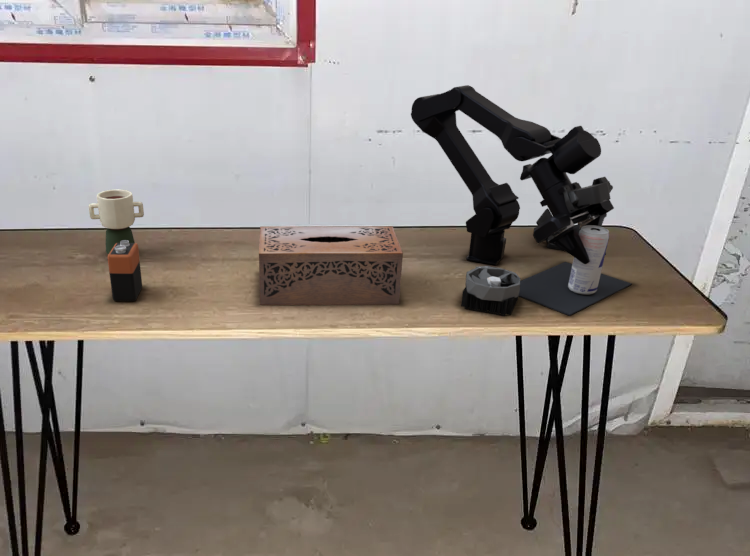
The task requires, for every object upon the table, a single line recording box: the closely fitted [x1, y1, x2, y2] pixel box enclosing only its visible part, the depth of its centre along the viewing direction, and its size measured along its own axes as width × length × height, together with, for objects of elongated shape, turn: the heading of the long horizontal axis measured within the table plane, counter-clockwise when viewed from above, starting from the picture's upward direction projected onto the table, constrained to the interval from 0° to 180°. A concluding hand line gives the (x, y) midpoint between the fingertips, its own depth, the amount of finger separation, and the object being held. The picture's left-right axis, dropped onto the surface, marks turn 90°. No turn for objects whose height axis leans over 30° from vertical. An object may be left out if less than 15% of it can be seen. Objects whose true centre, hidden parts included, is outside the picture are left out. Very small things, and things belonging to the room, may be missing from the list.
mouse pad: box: [518, 261, 633, 317], centre depth 151 cm, size 15×22×1 cm
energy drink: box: [568, 225, 610, 295], centre depth 146 cm, size 5×5×12 cm
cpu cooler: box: [460, 265, 521, 317], centre depth 143 cm, size 10×6×10 cm
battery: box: [107, 240, 143, 302], centre depth 143 cm, size 4×7×10 cm, turn 179°
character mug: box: [88, 188, 145, 255], centre depth 160 cm, size 11×7×13 cm, turn 100°
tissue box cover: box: [258, 225, 404, 306], centre depth 147 cm, size 26×14×10 cm, turn 92°
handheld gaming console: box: [535, 207, 564, 251], centre depth 172 cm, size 12×7×10 cm
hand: (595, 259), depth 144 cm, fingers closed on energy drink, 5 cm apart
